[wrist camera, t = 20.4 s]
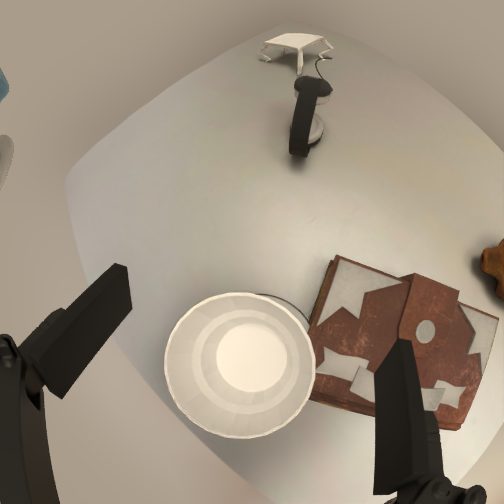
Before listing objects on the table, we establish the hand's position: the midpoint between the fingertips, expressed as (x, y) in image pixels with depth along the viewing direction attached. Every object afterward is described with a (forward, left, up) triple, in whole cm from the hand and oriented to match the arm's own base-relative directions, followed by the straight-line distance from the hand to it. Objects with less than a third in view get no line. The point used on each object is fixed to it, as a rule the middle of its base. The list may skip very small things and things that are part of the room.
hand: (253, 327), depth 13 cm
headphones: (+2, +30, -19) cm, 35 cm away
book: (+16, 0, -19) cm, 25 cm away
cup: (0, -3, -16) cm, 16 cm away
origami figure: (-1, +43, -19) cm, 47 cm away
